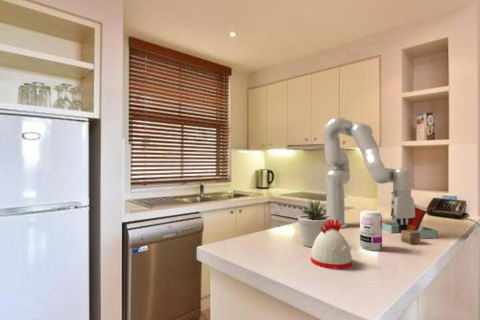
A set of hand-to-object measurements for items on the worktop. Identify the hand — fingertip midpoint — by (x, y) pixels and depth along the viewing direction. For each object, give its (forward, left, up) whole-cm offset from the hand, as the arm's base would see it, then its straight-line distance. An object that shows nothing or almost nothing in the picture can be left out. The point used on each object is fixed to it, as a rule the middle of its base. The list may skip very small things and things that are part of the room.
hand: (402, 232), depth 133 cm
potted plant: (-48, -7, -2) cm, 48 cm away
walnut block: (-5, -11, -2) cm, 12 cm away
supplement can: (-27, -15, -2) cm, 31 cm away
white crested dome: (-51, -27, -2) cm, 57 cm away
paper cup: (+4, +1, -1) cm, 4 cm away
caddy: (+6, +4, -2) cm, 8 cm away
